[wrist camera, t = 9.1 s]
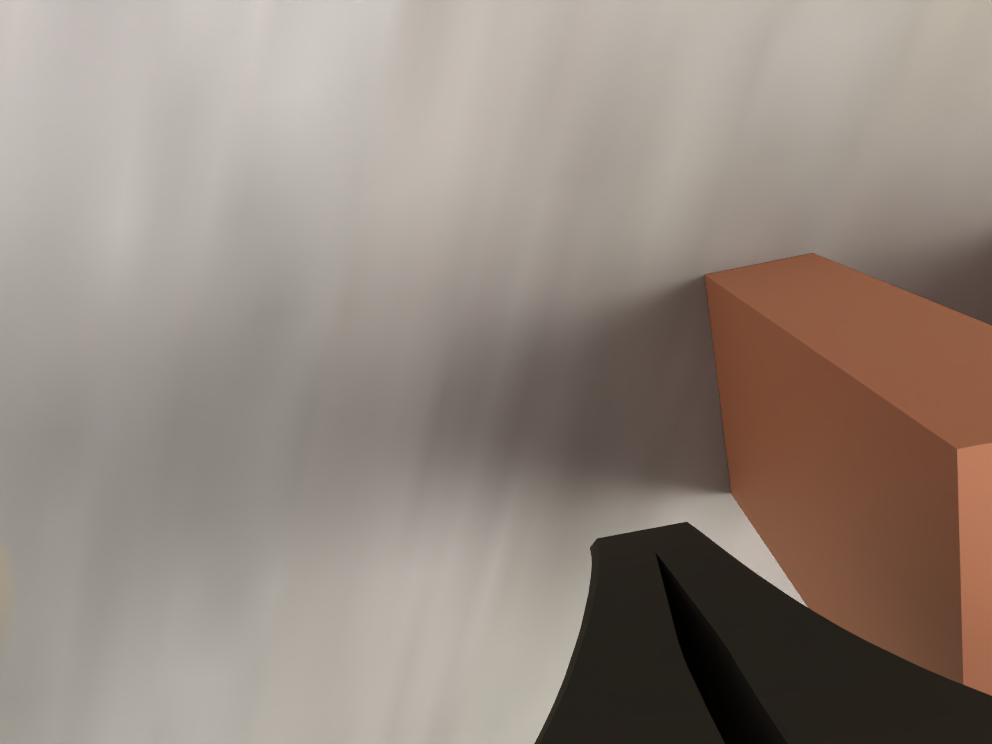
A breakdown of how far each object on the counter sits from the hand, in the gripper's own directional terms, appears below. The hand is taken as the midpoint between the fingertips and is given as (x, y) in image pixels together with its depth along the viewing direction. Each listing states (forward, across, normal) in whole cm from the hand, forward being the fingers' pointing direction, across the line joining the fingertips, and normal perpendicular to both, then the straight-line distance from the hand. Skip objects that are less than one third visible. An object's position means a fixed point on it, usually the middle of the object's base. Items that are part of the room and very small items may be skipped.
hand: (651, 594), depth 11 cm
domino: (+7, -4, 0) cm, 8 cm away
